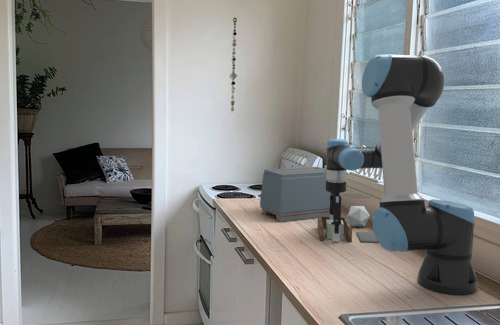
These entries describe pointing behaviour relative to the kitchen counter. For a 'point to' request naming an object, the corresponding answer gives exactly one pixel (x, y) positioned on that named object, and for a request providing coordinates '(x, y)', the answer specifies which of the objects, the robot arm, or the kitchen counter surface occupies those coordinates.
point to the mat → (367, 237)
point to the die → (358, 216)
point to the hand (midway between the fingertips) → (334, 236)
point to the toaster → (295, 193)
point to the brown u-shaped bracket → (323, 226)
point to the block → (330, 227)
